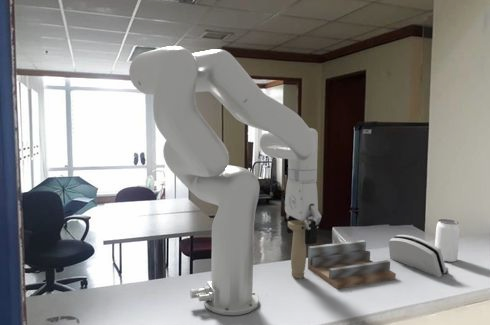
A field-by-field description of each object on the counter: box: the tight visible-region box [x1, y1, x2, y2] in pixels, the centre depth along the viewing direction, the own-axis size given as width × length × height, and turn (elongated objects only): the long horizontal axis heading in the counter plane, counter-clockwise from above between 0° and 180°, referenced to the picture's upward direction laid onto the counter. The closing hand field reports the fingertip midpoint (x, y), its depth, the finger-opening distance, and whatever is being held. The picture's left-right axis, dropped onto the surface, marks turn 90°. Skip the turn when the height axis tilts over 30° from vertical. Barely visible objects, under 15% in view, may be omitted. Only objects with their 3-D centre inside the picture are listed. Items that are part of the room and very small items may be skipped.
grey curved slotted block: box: [388, 234, 450, 278], centre depth 113 cm, size 17×5×10 cm, turn 31°
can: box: [434, 218, 461, 263], centre depth 120 cm, size 6×6×12 cm
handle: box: [288, 220, 312, 279], centre depth 104 cm, size 5×6×15 cm
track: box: [307, 239, 397, 290], centre depth 107 cm, size 19×14×6 cm
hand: (301, 237), depth 104 cm, fingers open, 9 cm apart
